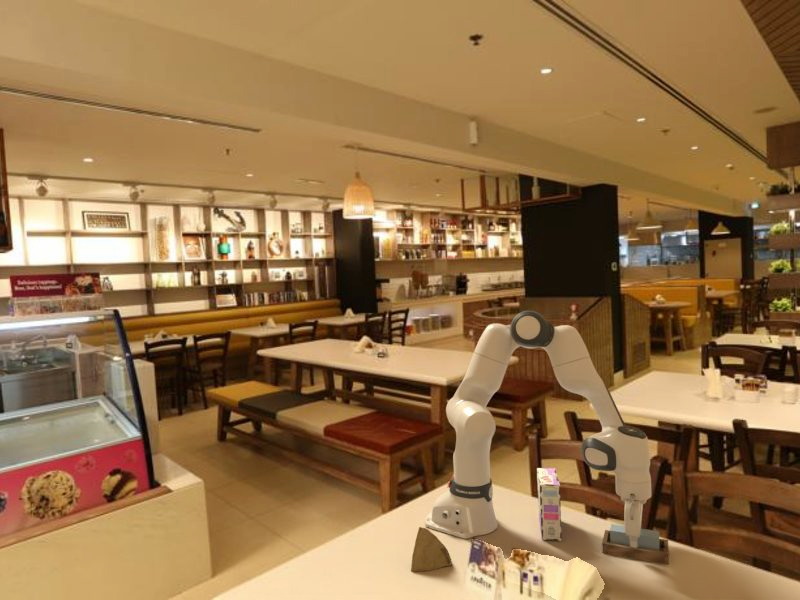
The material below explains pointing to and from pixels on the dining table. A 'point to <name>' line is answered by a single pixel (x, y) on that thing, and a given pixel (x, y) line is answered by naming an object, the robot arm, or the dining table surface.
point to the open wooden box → (636, 550)
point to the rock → (429, 552)
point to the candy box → (549, 504)
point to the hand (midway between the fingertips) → (634, 537)
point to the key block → (645, 541)
